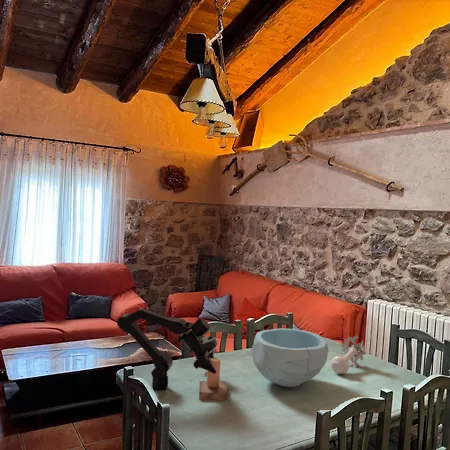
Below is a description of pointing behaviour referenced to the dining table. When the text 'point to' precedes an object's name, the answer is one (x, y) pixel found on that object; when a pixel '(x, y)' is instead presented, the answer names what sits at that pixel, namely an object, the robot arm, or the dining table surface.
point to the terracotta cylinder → (211, 377)
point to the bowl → (289, 355)
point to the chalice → (211, 351)
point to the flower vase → (348, 356)
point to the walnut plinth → (213, 391)
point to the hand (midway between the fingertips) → (216, 370)
